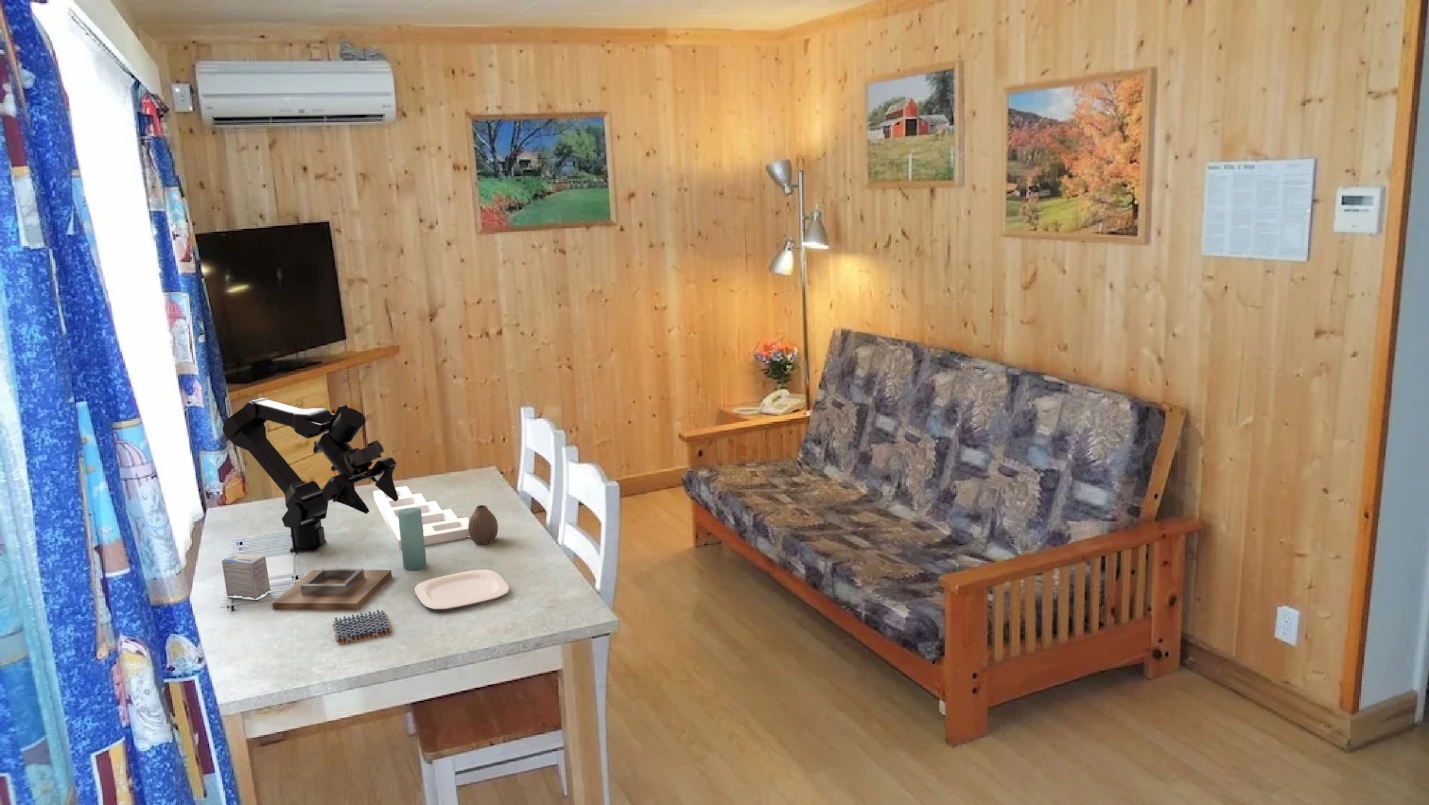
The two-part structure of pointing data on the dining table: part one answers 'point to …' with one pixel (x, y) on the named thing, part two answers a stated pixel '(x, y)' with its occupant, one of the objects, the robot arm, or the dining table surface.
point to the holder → (430, 513)
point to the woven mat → (361, 627)
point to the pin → (412, 539)
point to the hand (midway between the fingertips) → (382, 506)
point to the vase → (482, 525)
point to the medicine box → (246, 575)
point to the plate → (461, 589)
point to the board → (333, 589)
